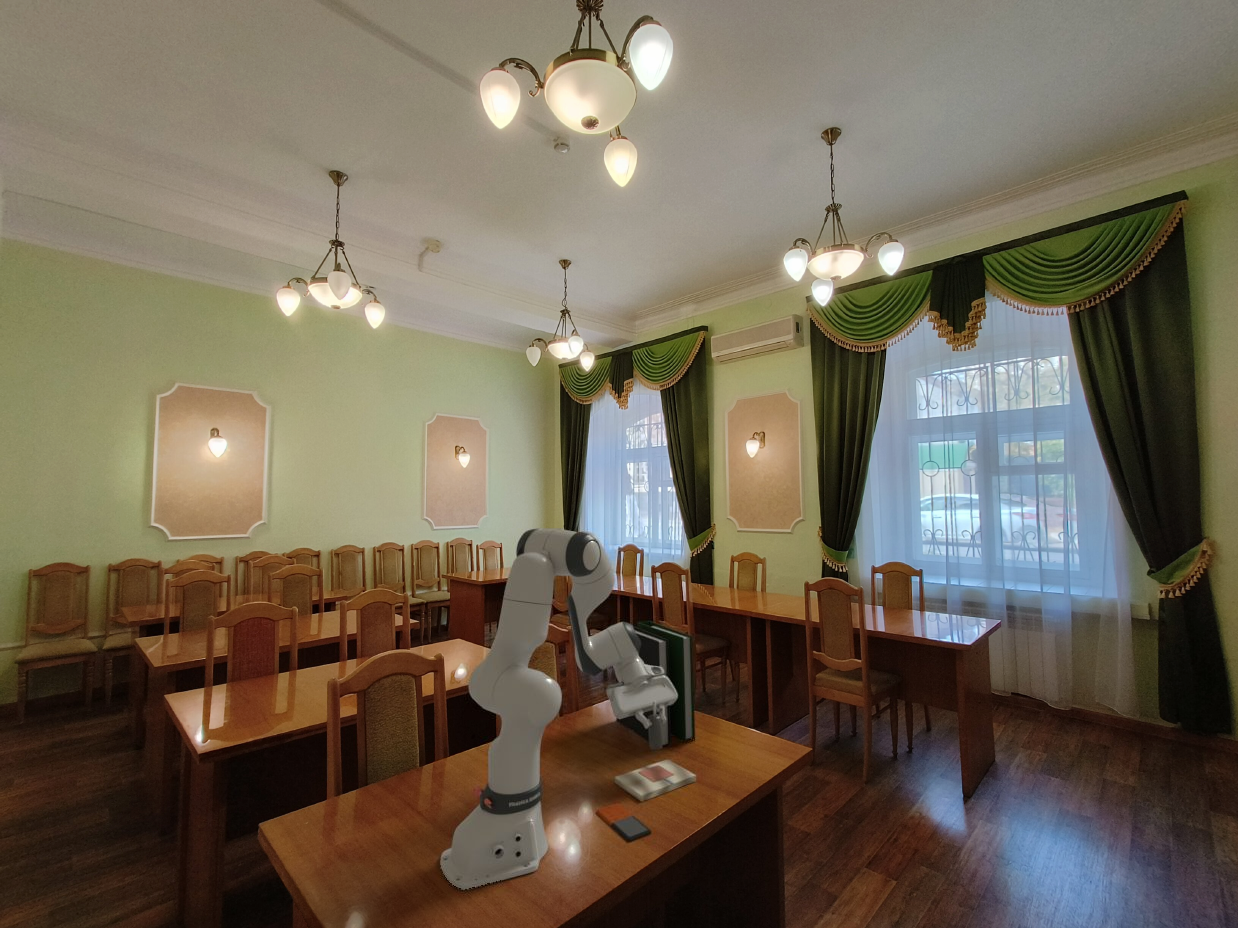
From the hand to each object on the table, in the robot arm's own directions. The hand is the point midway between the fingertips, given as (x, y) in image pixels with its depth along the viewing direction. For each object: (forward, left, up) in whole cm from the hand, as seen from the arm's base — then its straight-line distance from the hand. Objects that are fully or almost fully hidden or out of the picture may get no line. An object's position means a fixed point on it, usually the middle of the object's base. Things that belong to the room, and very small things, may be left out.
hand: (656, 724), depth 157 cm
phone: (-19, -11, -15) cm, 27 cm away
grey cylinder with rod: (0, +1, -6) cm, 6 cm away
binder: (+20, +28, -15) cm, 37 cm away
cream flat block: (-1, 0, -14) cm, 14 cm away
